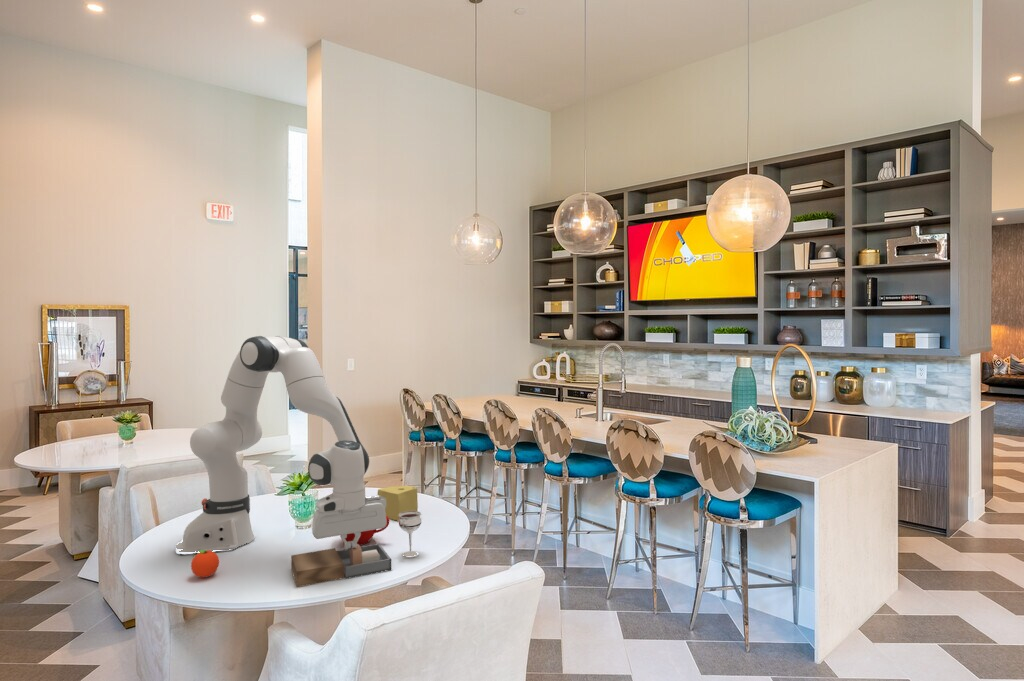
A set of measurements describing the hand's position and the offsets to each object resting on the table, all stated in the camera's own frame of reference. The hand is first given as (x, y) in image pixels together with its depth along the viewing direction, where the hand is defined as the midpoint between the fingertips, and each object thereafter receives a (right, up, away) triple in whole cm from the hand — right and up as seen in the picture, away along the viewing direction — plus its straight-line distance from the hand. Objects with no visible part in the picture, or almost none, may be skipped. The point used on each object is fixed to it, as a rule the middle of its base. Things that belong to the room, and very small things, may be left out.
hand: (350, 548), depth 172 cm
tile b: (0, -3, 0) cm, 3 cm away
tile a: (+5, -2, +3) cm, 6 cm away
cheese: (+4, -5, +48) cm, 49 cm away
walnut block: (-8, -6, -4) cm, 11 cm away
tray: (+3, -5, +2) cm, 7 cm away
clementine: (-39, -6, -4) cm, 40 cm away
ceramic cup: (-1, -5, +21) cm, 22 cm away
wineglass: (+15, -5, +10) cm, 19 cm away
